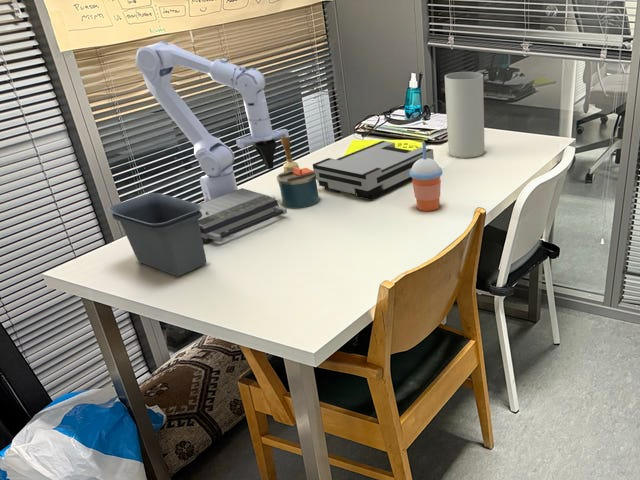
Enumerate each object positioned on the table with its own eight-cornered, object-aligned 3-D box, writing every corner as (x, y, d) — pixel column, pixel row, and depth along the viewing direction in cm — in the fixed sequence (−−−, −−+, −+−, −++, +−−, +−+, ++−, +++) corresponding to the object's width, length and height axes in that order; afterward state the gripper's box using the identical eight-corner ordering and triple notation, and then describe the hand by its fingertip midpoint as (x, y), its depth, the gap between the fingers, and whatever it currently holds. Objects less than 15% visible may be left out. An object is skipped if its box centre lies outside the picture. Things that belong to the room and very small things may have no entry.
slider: (299, 176, 186) (298, 170, 185) (293, 173, 188) (292, 167, 187) (313, 172, 188) (312, 166, 187) (307, 169, 191) (306, 163, 190)
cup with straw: (439, 214, 181) (435, 148, 170) (408, 212, 182) (402, 147, 172) (447, 202, 188) (444, 138, 178) (417, 200, 190) (412, 137, 179)
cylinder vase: (444, 150, 229) (440, 73, 215) (478, 146, 232) (476, 70, 218) (454, 160, 219) (450, 81, 205) (489, 156, 222) (488, 77, 208)
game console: (434, 171, 211) (432, 145, 206) (369, 203, 189) (365, 175, 184) (384, 161, 220) (382, 136, 216) (317, 191, 198) (312, 164, 194)
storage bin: (121, 263, 159) (100, 207, 151) (176, 241, 170) (160, 187, 162) (174, 285, 149) (155, 226, 141) (230, 259, 160) (215, 203, 152)
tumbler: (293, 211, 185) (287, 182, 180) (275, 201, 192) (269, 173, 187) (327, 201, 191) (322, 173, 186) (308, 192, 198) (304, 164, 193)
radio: (240, 185, 189) (286, 198, 179) (244, 202, 192) (289, 216, 182) (163, 212, 173) (209, 228, 163) (169, 231, 176) (215, 248, 166)
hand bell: (292, 187, 202) (281, 134, 193) (274, 182, 206) (264, 130, 197) (312, 179, 207) (303, 128, 198) (295, 175, 211) (286, 124, 202)
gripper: (239, 126, 171) (251, 177, 178) (289, 115, 178) (299, 164, 186) (228, 121, 175) (240, 171, 183) (278, 111, 183) (287, 159, 191)
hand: (269, 168), depth 185 cm, fingers closed
